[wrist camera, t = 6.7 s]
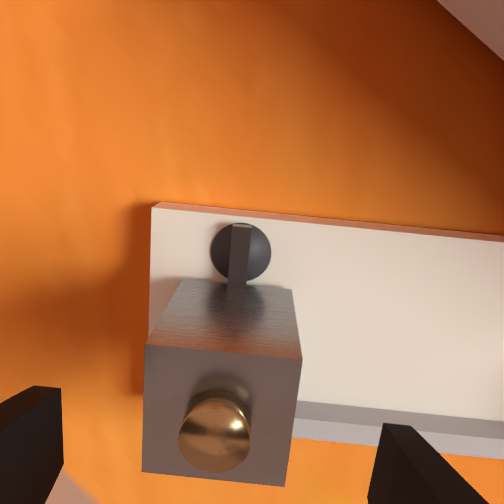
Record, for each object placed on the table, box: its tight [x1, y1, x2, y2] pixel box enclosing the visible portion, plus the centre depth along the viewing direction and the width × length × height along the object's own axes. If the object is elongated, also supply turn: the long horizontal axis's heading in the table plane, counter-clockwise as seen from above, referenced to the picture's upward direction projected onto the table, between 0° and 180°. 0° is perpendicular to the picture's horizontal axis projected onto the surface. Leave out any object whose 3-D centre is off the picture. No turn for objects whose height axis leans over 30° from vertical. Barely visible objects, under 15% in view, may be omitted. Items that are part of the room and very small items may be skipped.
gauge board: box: [148, 202, 504, 459], centre depth 13 cm, size 22×8×6 cm, turn 85°
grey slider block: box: [142, 223, 303, 487], centre depth 12 cm, size 4×7×5 cm, turn 175°
